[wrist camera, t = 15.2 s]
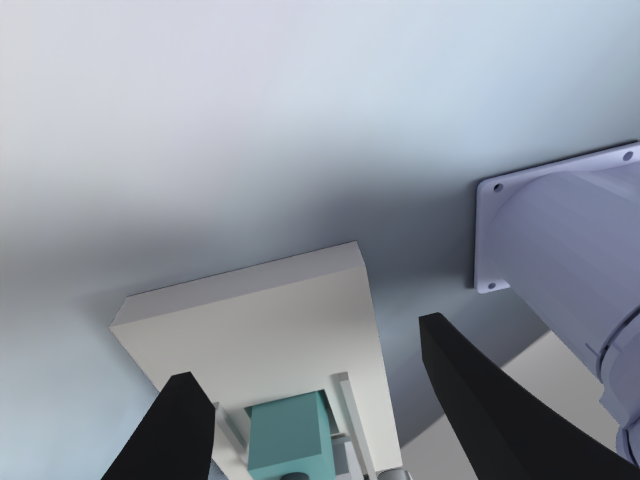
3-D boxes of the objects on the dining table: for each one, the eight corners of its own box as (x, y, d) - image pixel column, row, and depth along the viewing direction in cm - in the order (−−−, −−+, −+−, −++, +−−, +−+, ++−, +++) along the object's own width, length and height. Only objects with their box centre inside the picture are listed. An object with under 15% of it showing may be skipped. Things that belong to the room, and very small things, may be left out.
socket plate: (356, 240, 19) (368, 272, 17) (396, 447, 32) (406, 483, 29) (126, 296, 20) (103, 336, 17) (255, 479, 32) (253, 518, 30)
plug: (312, 365, 24) (324, 477, 18) (326, 400, 26) (340, 510, 20) (254, 379, 24) (245, 495, 18) (272, 413, 26) (270, 525, 20)
